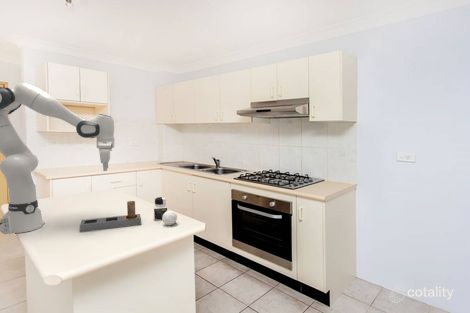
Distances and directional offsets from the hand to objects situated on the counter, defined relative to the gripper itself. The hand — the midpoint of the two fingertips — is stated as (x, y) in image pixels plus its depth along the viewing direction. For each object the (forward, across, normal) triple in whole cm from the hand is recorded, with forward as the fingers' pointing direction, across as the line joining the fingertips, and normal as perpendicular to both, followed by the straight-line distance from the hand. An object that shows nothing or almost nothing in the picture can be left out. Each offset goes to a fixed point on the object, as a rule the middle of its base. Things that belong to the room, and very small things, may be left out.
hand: (105, 169), depth 157 cm
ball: (+28, +18, +32) cm, 47 cm away
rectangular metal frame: (+29, +9, +3) cm, 30 cm away
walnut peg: (+29, +9, +13) cm, 33 cm away
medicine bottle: (+28, +6, +29) cm, 41 cm away
